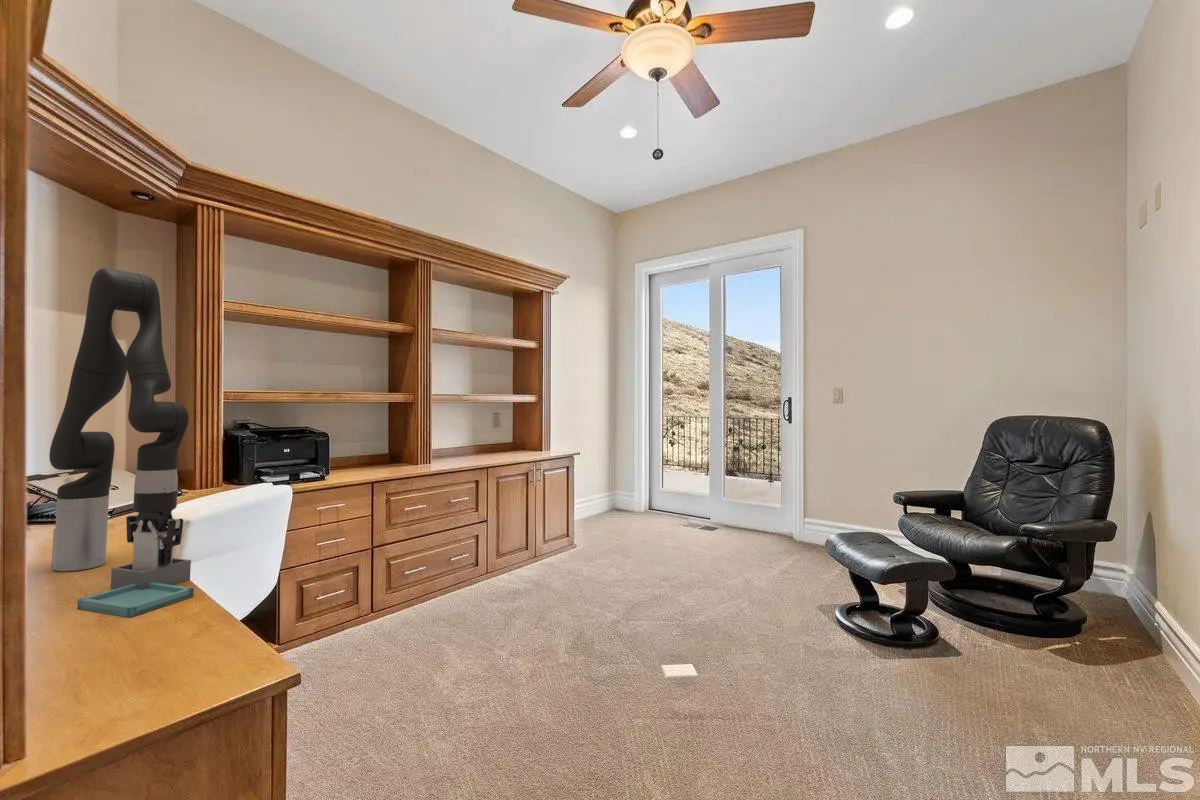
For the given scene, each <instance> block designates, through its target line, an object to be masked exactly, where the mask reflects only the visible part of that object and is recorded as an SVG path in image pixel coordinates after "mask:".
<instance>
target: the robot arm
mask: <svg viewBox="0 0 1200 800" xmlns="http://www.w3.org/2000/svg"><path fill="white" fill-rule="evenodd" d="M88 291H89V292H88V297H87V303H86V304H87V306H86V314H85V322H84V325H83V333H82V336H81V339H80V344H79V347H78V351H77V356H76V358H75V361H74V364H73V365H74V366H73V369H72V373H71V376H70V381H69V382H70V383H69V387H68V391H67V395H66V401H65V405H64V406H63V411H62V413H61V416H60V419H59V421H58V424H57V427H56V430H55V432H54V434H53V438H52V440H51V444H50V449H49V455H48V456H49V463H50V465H51V466H52V467H53V468H54V469H55V470H60V471H72V470H74V471H75V470H86V469H87V470H88V471H87V473H86V474H85V475H83V476H82V477H80V478H77V479H76V480H73V481H71V482H67V483H65V484H62V485H59V486H58V488H57V491H56V510H55V512H56V515H55V528H54V529H53V532H52V533H53V534H52V535H53V537H52V553H51V554H52V556H51V568H52V569H53V571H55V572H73V571H83V570H88V569H93V568H97V567H101V566H102V565H105V564H106V561H107V560H106V559H107V547H108V546H107V544H108V542H107V541H108V525H109V524H108V523H109V522H108V521H109V503H110V502H109V501H110V488H111V485H112V484H111V483H112V476H113V475H112V474H113V467H114V458H115V449H116V448H115V441H114V440H115V439H114V438H113V436H112V434H111V433H109V432H107V431H83V428H84V427H85V425H86V424H87V422H88V421H89V420H90V418H91V417H92V416H94V415H95V414H96V413H97V412H98V411H99V410H101V409H102V408H103V407H104V406H106V405H107V404H109V403H110V402H111V401H112V400H113V399H114V398H116V397H117V396H118V395H119V394H120V393H121V391H122V390H123V388H124V383H125V381H126V377H127V375H128V378H129V382H130V396H129V406H128V411H127V413H128V414H127V415H128V417H127V418H128V422H129V423H130V426H131V427H132V428H133V429H134V430H135V431H137V432H139V433H144V434H148V433H149V434H151V433H159V434H158V437H156V439H155V440H154V441H152V442H148V443H145V444H141V445H140V446H139V447H138V450H137V455H136V456H137V458H136V459H137V460H136V473H135V474H136V475H135V478H134V485H133V486H134V489H133V507H132V508H133V509H132V510H133V511H134V512H135V513H137V514H134V515H128V516H126V542H127V543H128V544H130V543H131V544H133V543H134V532H143V531H144V532H152V534H155V535H154V539H158V540H159V548H160V549H159V556H158V565H159V566H164V565H168V564H170V562H171V557H172V547H173V548H174V547H176V546H179V545H181V544H182V535H183V528H184V519H183V518H174V517H173V514H172V511H173V510H175V509H176V508H177V507H178V505H177V503H178V489H179V488H178V485H179V484H178V483H179V477H178V459H179V458H178V457H179V456H178V453H179V449H180V447H181V444H182V441H183V440H184V439H183V438H184V436H185V433H186V431H187V428H188V425H189V420H190V415H189V412H188V409H187V408H186V406H185V405H183V404H182V403H180V402H178V401H155V396H157V395H161V394H165V393H167V392H168V391H170V389H171V388H172V382H171V377H170V373H169V370H168V366H167V362H166V358H165V354H164V346H163V328H162V312H161V299H160V293H159V288H158V286H157V283H156V281H155V280H154V279H153V278H152V277H151V276H148V275H145V274H143V273H137V272H136V273H135V272H132V271H126V270H119V269H114V268H107V267H103V268H99V269H98V270H97V271H95V273H94V275H93V277H92V278H91V282H90V285H89V290H88ZM115 311H121V312H122V311H123V312H129V313H136V314H137V316H138V319H139V329H138V331H137V333H136V336H135V337H134V339H133V341H132V342H131V344H130V345H129V347H128V349H127V351H126V354H125V352H124V350H123V348H122V347H121V344H120V343H119V342H118V340H117V338H116V336H115V334H114V331H113V316H114V312H115ZM165 531H167V534H162V535H161V534H159V533H160V532H165ZM163 538H166V543H164V540H163ZM172 558H173V557H172Z"/></svg>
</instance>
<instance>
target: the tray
mask: <svg viewBox="0 0 1200 800" xmlns="http://www.w3.org/2000/svg"><path fill="white" fill-rule="evenodd" d="M194 589H195V588H194V587H189V586H181V585H176V584H173V585H169V584H161V583H154V582H153V583H149V584H148V589H144V590H139V589H137V584H132V585H128V586H125V587H121V588H118V589H114V590H113V589H110V590H108V591H103V592H100V593H96V594H94V595H93V594H92V595H89V596H86V597H83V598H79V599H77V610H82V611H89V612H95V613H102V614H107V615H113V616H119V617H120V616H121V617H126V618H133V617H136V616H139V615H142V614H145V613H148V612H152V611H154V610H157V609H161V608H163V607H166V606H169V605H172V604H176V603H178V602H180V601H181V602H182V601H185V600H188V599H191V598H192V597H194V592H195V591H194Z"/></svg>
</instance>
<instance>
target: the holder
mask: <svg viewBox="0 0 1200 800" xmlns="http://www.w3.org/2000/svg"><path fill="white" fill-rule="evenodd" d="M191 561H192V560H191V559H186V558H177V557H172V564H171V565H167V566H164V567H160V568H156V569H152V570H148V571H145V572H144V571H136V570H132V563H129V564H124V565H120V566H116V567H112V568H111V569H110V570H111V573H110V574H111V575H110V590H114V589H118V588H121V587H125V586H128V585H132V584H137V589H139V590H144V589H148V584H149V583H153V582H154V583H161V584H169V585H176V584H180V583H182V582H183V583H184V582H186V581H189V580H191V568H192V567H191V565H192V562H191Z"/></svg>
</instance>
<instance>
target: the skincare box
mask: <svg viewBox="0 0 1200 800" xmlns="http://www.w3.org/2000/svg"><path fill="white" fill-rule="evenodd" d="M159 534H161V535H162V534H167V531H165V532H160V533H159ZM154 535H155V534H152V532H144V531H143V532H136V531H133V536H134V543H132V545H133V546H132V548H133V549H132V562H131V564H132V570H136V571H144V572H145V571H148V570H152V569H156V568H160V567H164V566H167V565H164V566H159V565H158V556H159V549H160V548H159V540H158V539H154ZM163 540H164V543H166V538H163ZM173 551H174V546H173V547H172V557H171V562H170V564H168V565H171V564H172V558H174V557H173V554H174V552H173Z"/></svg>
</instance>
